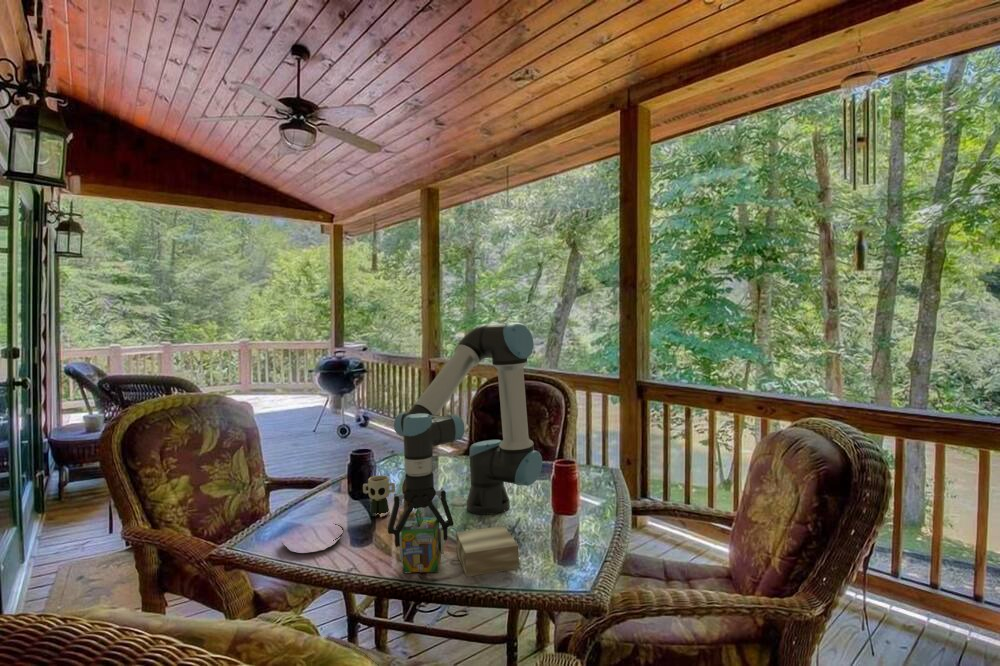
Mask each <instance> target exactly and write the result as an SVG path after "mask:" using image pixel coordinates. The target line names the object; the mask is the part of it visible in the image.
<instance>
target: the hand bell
mask: <svg viewBox="0 0 1000 666" xmlns="http://www.w3.org/2000/svg"><path fill="white" fill-rule="evenodd" d="M401 488H402V489H401V491H402V493H401V494H404V492H405V478H404V479H403V482H402V487H401ZM407 504H408V502H407V501H406V500H405V498H404V499H403V510H402V511H400V512H399V517H398V522H399V520H400V518H401V516H402V514H403V512H404V510H405V509H406V506H407ZM408 518H416V516H415V513H414V510H412V512H411V513H410V515H409V517H408ZM398 522H397V523H398Z"/></svg>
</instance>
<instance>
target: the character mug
mask: <svg viewBox="0 0 1000 666" xmlns="http://www.w3.org/2000/svg"><path fill="white" fill-rule="evenodd" d="M390 486H391V489H390ZM367 489H368V490H367ZM362 492H363V494H368V497H369V498H370V499H371V505H370V513H371V512H372V513H376V514H377V513H379V514H381V513H386V512H388V511H389V512H390V508H389V503H388V499H387V497H389V496H390V494H391V493H395V492H396V484H395V482H390V477H389V476H388V475H373V476H370V477H369V478H367V483H363V485H362Z"/></svg>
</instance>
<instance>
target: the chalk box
mask: <svg viewBox="0 0 1000 666" xmlns="http://www.w3.org/2000/svg"><path fill="white" fill-rule="evenodd" d="M414 516H415V518H408V519H407V521H406V522H405V524H404V526H403V528H402V530H401V534H402V551H403V560H402V568H403V570H402V571H404V572H420V573H437V572H439V567H440V564H441V559H442V554H441V552H440V538H439V526H441V524H440V523H439V521H438V520H437V518H436V517H435V516H434V517H433V516H432V517H430V516H429V517H428V516H422V514H421V511H420V508H418V509H416V511H415V513H414Z"/></svg>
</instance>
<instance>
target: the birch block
mask: <svg viewBox="0 0 1000 666" xmlns="http://www.w3.org/2000/svg"><path fill="white" fill-rule="evenodd" d="M455 534H456V536H455V537H456V555H457V557H458V559H459V563H460V565H461V566H462V569H463V572H464V575H465V576H466V577H467V578H468V577H473V576H479V575H484V574H491V573H492V574H493V573H497V572H498V573H499V572H504V571H509V570H511V571H512V570H516V568H517V569H520V557H519V555H520V553H519V544H518V543H517V541H516V540H515V539H514V537H513V536H512V535H511V533H510V531H508V529H507V527H506V526H505V525H500V526H491V527H483V528H480V529H479V528H478V529H477V528H476V529H470V530H464V531H458V532H457V531H456V533H455Z"/></svg>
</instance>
